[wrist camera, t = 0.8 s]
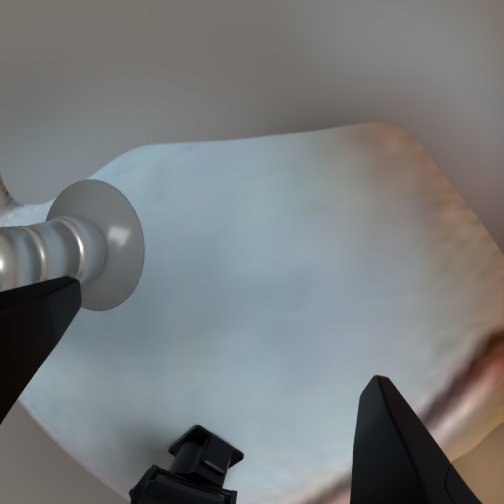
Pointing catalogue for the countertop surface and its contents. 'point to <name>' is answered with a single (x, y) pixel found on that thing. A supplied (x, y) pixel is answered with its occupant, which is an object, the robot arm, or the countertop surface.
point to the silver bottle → (50, 251)
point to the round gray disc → (106, 240)
